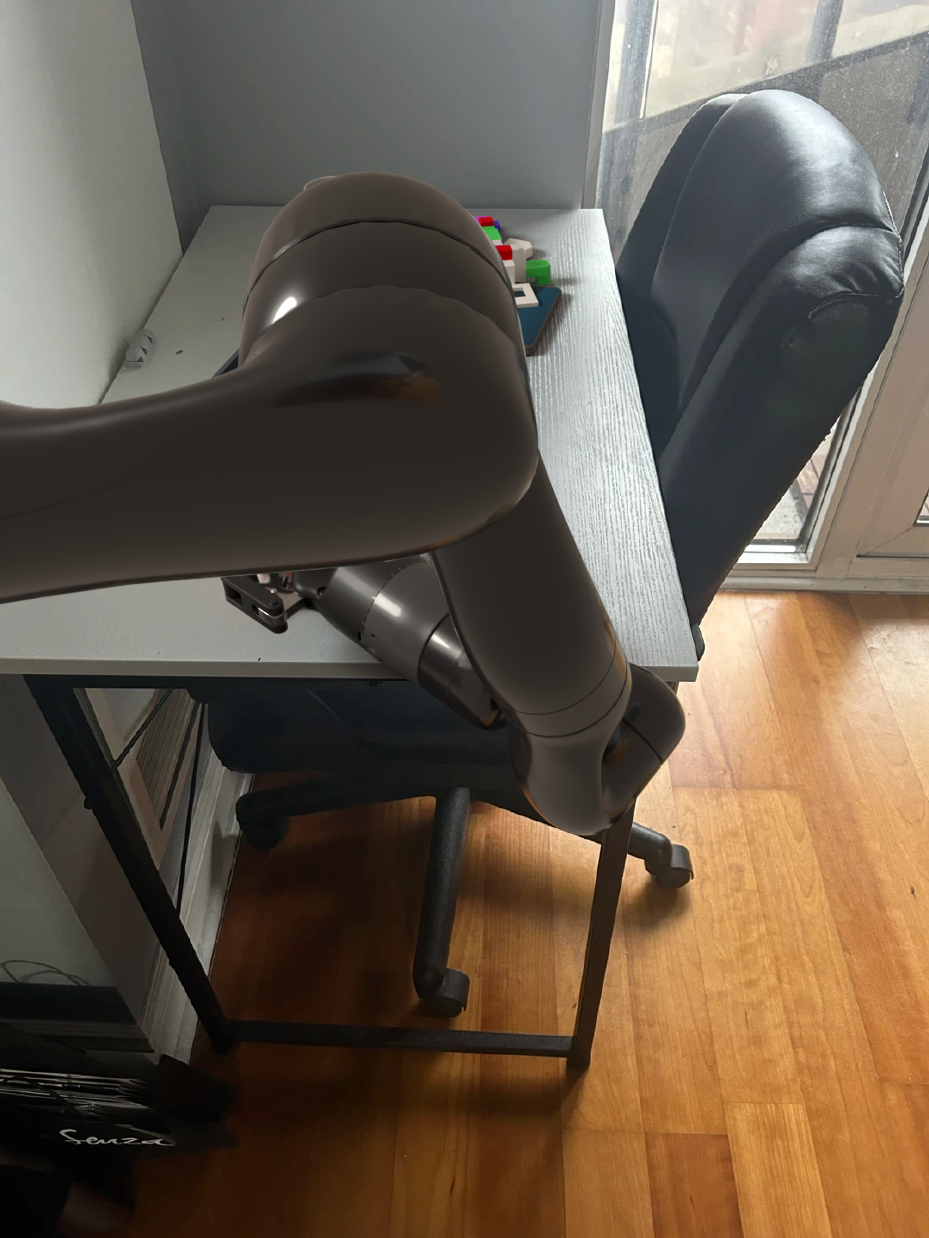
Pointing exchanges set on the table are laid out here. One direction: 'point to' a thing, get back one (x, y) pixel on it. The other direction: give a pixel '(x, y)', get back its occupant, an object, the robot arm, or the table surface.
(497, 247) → the building block set
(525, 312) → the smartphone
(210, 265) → the table surface
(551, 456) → the table surface
